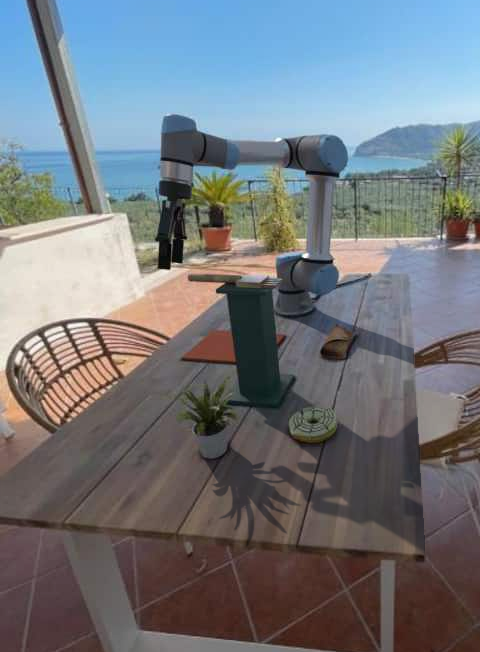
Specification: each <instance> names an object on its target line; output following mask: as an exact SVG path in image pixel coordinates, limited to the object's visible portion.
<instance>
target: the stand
mask: <svg viewBox="0 0 480 652" xmlns="http://www.w3.org/2000/svg"><path fill="white" fill-rule="evenodd" d="M270 278H271V279H276V278H272V277H270ZM274 289H275V288H245V287H236V283H222V285H220V286H219V287H217V288H216V289H215V294H216V295H226V300H227V308H228V315H229V323H230V331H232V338H233V346H234V353H235V361H236V364H235V366H236V368H235V369H236V374H237V382H236V383H235V385H234V386H233V387H232V388H231V390H230V391H229V392H228V393H227V395H228V394H230V393H233V392H237V393H234V394H232V395H230V396H228V397H227V398H226V399H229V400H228V402H227V403H226V404H232V405H244V406H257V407H265V408H266V407H267V408H278V407H279V405H280V404H281V403H282V400H283V398H284V397H285V395H286V394H287V391H288V390H289V388H290V386H291V384H292V382H293V381H294V379H295V374H294V373H281V372H280V363H279V362H280V361H279V350H278V346H277V339H276V334H277V328H276V318H275V304H274V295H273V290H274ZM230 398H232V399H230Z"/></svg>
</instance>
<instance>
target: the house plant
mask: <svg viewBox="0 0 480 652" xmlns="http://www.w3.org/2000/svg"><path fill="white" fill-rule="evenodd" d="M231 376H232V375H229V376H228V377H226V378H225V379H223V381H222V382H221V383H220V385H219V387H218V388H217V389H215V391H213V393H211V392H210V387H209V385H208V380H205V379H203V384H204V386H203V396H202V395H200V396H198V397H196V396H195V394H194V392H192V391H191V390H189V389H187V388H183V390H182V389H180V392H181V394H183V395H185V396H186V398H187V399H188V400H189V401H190V402H192V403H193V404H194V407H192V406H190V404H188V403H186V402H185V401H184V400H182V399H181V398H178V397H176V396H162V397H161V399H173V400H175V401H178V402H181V403H182V404H183V405H185V406H187V407H188V408H185V409H184V410H182V411H180V412H179V413H178V414H177V416H176V420H178V421H186V420H190V421H193V422H195V423H194V424H193V426H190V427H189V428H187V429H186V432H188V431H189V430H191V431H192V434H193V437H194V439H195V441H196V445H197V446H198V449H199V451H200V453H201V455H202V457H203V458H205V459H216V458H219V457H221V456H222V455H225V453H226V452H227V450H228V440H229V428H230V427H231V426H230V421H229V419H228V418H230V419H232V420H235V421H236V422H237V423H238V417H237V415H236V414H237V412H236V411H235V410H234V409H233V407H231V406H228V405H227V404H228V403H227V402H228V400H229V399H226V398H227V397H228V396H230V395H232V394H234V393H237V392H233V393H230V394H228V393H227V395H225V396H224V397H223V398H222V400H220V399H221V397H222V395H223V393H224V391H225V389H226V385H227V382H228V381H229V380H230V378H231ZM212 398H213V401H212V402H211V399H212ZM230 399H232V398H230ZM211 403H212V405H211ZM226 405H227V406H226ZM190 409H191V410H192V411H193V412H195V413H196V414H197V415H198V416H197V415H195V414H194V413H192V412H191V411H188V410H190ZM227 410H230V411H232V412H230V411H229V412H226V411H227Z"/></svg>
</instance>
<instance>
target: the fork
mask: <svg viewBox="0 0 480 652" xmlns="http://www.w3.org/2000/svg"><path fill="white" fill-rule="evenodd" d="M271 278H272V277H270V275H265V274H264V275H263V274H244V275H243V276H242V275H241V274H219V273H217V274H216V273H194V272H193V273H191V272H190V273H188V274H187V281H188V282H191V283H215V284H217V283H218V284H225V283H236V287H245V288H274V289H278V286H279V285H281V283H283V279H277V278H275V279H271Z"/></svg>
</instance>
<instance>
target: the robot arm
mask: <svg viewBox="0 0 480 652" xmlns="http://www.w3.org/2000/svg"><path fill="white" fill-rule="evenodd" d="M160 130H161V131H160V138H161V139H160V160H159V164H158V165H157V169H158V170H159V178H160V180H159V181H158V191H157V192H158V193H157V194H158V195H159V196H161V197H166V199H163V200H162V201H161V212H160V216H159V222H158V228H157V233H156V236H155V238H154V241H155V242H158V255H157V256H158V257H157V269H158V270H167V271H171V267H172V264H173V263H174V264H183V261H184V247H185V246H184V245H185V241H187V240H188V235H187V230H186V228H187V227H186V203H185V202H183V200H185V201H191V199H192V195H193V194H192V193H193V187H192V185H191V184H192V183H193V182H194V170H195V169H194V167H209V168H210V167H212V168H219V169H221V170H229V171H232V170H235V169H236V168H237V166H276V167H277V168H279V169H290V170H297V171H302V172H305V174H304V175H305V177H306V179H307V180H308V185H309V186H308V200H307V201H308V202H307V219H306V237H305V238H306V239H305V243H306V244H305V251H294V252H293V251H292V252H287V253H282V254H279V255H277V256H276V257H275V270H276V279H283V283H281V285H279V286H277V296H276V301H275V304H274V313H276V314H277V315H279V316H282V317H287V318H296V317H302V316H303V317H304V316H306V315H308V314H309V315H310V313H312V312H313V311H314V309H315V308H314V307H315V306H314V302H313V301H314V300H317V299H318V298H319V297H320V296H325V295H328V294H330V293H332V291H333V290H334V289H335V288H337V287H341V286H345V285H348V284H352V283H356V282H358V281H361V280H364V279H365V278H363V279H362V277H360V278H361V279H359V278H357V279H353V280H354V281H353V280H349V281H346V282H343V283H338V282H339V278H340V271H339V269H338V267H337V266H336V265H334V256H333V255H332V254H331V239H332V225H333V212H334V198H335V197H334V195H335V184H336V183H337V182H338V181H339V180H340V175H341V174H340V173H342V172H343V171H345V169H346V168H347V166H348V162H349V154H348V150H347V146H346V144H345V143H344V141H343V140H342V139H341V137H339V136H337V135H336V134H335V135H334V134H325V133H322V134H313V135H311V134H310V135H300V136H294V137H287V138H285V137H284V138H283V137H281V138H280V137H279V138H276V139H275V140H251V139H231V138H230V139H229V138H223V137H219V136H216V135H213V134H209V133H205V132H202V131H200V130H198V127H197V122H196V121H195V119H192V118H191V117H187V116H186V115H182V114H178V113H177V114H176V113H166V114H165V115H163V117H162V122H161V129H160ZM367 275H369V276H371V275H372V272H369V273H367ZM369 276H366V275H365V276H363V277H366V278H368V277H369ZM310 293H311V294H313V295H316V296H315V297H311V294H310Z"/></svg>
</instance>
